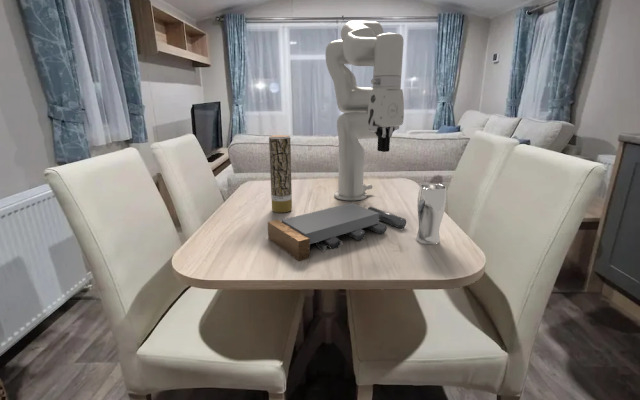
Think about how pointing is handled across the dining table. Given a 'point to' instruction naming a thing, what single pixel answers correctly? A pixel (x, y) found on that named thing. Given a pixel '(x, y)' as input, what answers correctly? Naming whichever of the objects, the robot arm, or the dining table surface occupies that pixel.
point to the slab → (332, 221)
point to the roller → (331, 242)
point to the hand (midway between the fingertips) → (383, 151)
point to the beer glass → (430, 212)
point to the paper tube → (280, 173)
